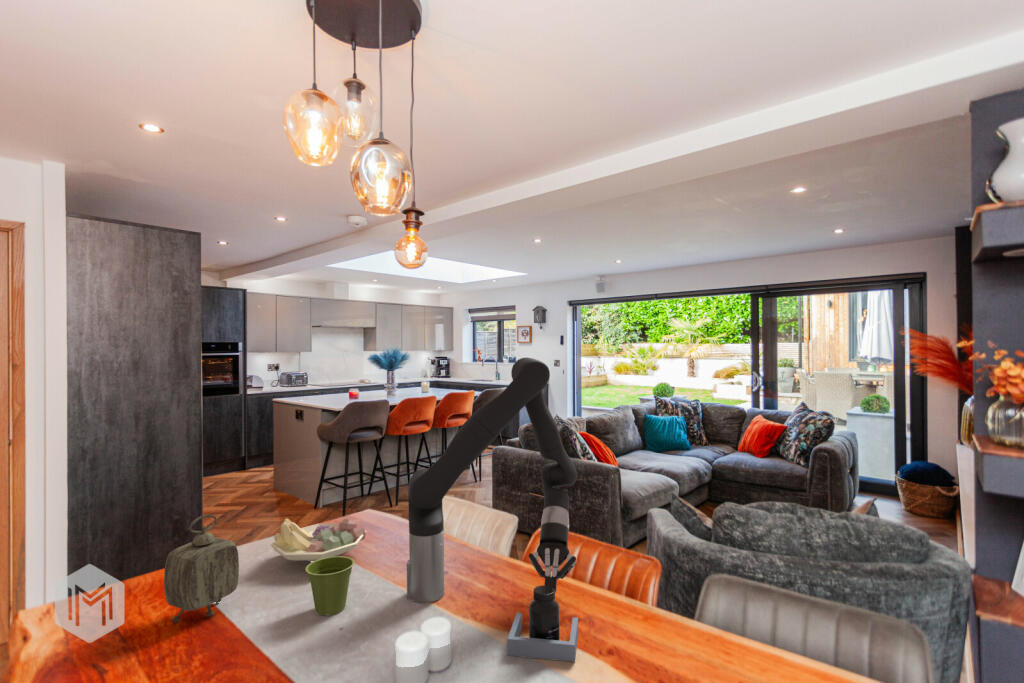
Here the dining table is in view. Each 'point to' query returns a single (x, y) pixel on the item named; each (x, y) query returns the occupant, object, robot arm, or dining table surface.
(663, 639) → the dining table surface
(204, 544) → the tabletop clock
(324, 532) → the dish with food
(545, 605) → the supplement bottle
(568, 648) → the bay
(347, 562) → the plant pot
